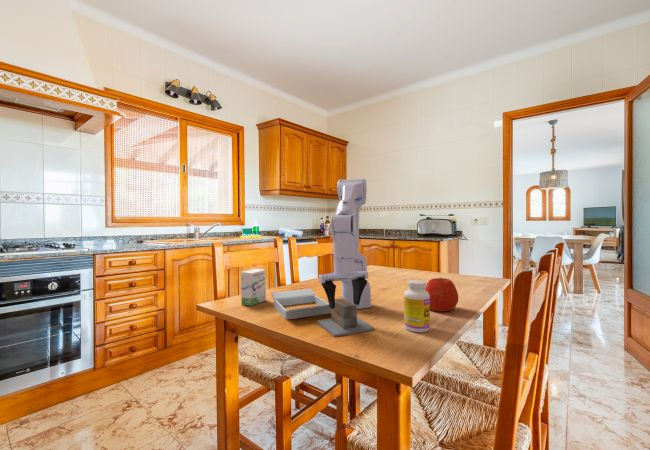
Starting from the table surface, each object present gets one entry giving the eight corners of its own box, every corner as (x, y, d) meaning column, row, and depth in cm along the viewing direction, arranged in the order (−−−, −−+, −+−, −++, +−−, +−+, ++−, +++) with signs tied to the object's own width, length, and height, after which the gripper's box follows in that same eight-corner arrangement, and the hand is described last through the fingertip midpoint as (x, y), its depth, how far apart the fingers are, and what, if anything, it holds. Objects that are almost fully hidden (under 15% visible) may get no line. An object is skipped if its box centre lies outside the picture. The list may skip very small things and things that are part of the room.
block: (343, 318, 90) (343, 298, 90) (356, 326, 83) (356, 305, 82) (331, 320, 88) (331, 299, 88) (343, 329, 81) (343, 306, 81)
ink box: (251, 306, 106) (251, 272, 106) (240, 304, 108) (240, 271, 108) (266, 300, 114) (266, 269, 113) (256, 299, 116) (255, 268, 116)
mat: (353, 317, 93) (353, 315, 93) (374, 329, 82) (374, 327, 82) (316, 322, 88) (316, 320, 88) (334, 337, 77) (334, 334, 77)
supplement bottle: (426, 335, 78) (426, 285, 78) (401, 330, 81) (400, 282, 81) (432, 327, 84) (432, 280, 83) (408, 323, 87) (408, 278, 87)
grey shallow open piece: (311, 299, 115) (311, 288, 115) (336, 316, 94) (336, 303, 94) (271, 303, 109) (271, 292, 109) (289, 323, 88) (289, 309, 88)
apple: (453, 316, 92) (453, 281, 92) (418, 310, 99) (418, 278, 99) (462, 308, 101) (461, 276, 101) (429, 303, 107) (429, 273, 107)
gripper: (325, 261, 78) (326, 313, 79) (373, 257, 84) (374, 306, 84) (315, 257, 85) (316, 306, 85) (361, 254, 90) (361, 300, 91)
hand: (344, 305), depth 85 cm, fingers open, 7 cm apart
